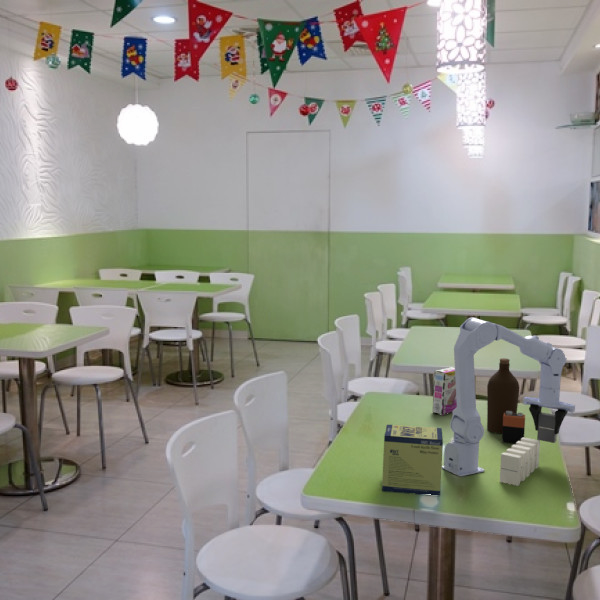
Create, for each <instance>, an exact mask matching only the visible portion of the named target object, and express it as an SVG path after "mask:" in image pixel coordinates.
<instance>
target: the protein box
mask: <svg viewBox="0 0 600 600" xmlns="http://www.w3.org/2000/svg"><path fill="white" fill-rule="evenodd" d="M383 438H384V440H383V459H382V460H383V461H382V481H381V486H382V487H381V491H382V492H389V493H398V494H399V493H400V494H409V493H415V494H414V495H420V494H431V495H440V496H441V487H442V486H441V485H442V470H443V468H442V466H443V449H444V447H443V446H444V445H443V444H444V440H443V438H444V437H443V428H442V427H430V426H415V425H401V424H400V425H399V424H386V428H385V432H384V437H383ZM431 495H430V496H431Z"/></svg>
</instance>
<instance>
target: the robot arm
mask: <svg viewBox="0 0 600 600" xmlns="http://www.w3.org/2000/svg"><path fill="white" fill-rule="evenodd" d="M500 340H503V341H504V342H507V343H509V344H511V345H514V346H517V347H518V348H519V351H520V353H521V354H522V355H525V356H526V357H528V358H531V359H533V360H535V361H537V362H538V363H540V372H539V373H540V376H539V388H538V389H539V391H538V397H529V396H525V397H523V403H522V404H523V405H525V406H527V405H529V407H528V409H529V410H528V411H529V412H530V414H531V417H532V420H533V423H534V429H535V431H537V432H538V418H539V413H540V412H542V410H543V409H542V408H547V409H552V410H553V409H554V410H555V411H554V415H555V431H554V433H555V434H557V435H558V434H559V433H560V431H561V430H560V429H561V425H562V423H563V421H564V419H565V417H566V416H567V415H568V413H575V410H576V404H572V403H568V402H564V401H561V400H560V398H561V397H560V394H561V382H562V381H561V380H562V372H563V368H564V366H565V364H566V363H567V360H568V359H567V358H566V355H565V352H564V351H563V350H562V349H561V348H557V347H554V346H552V343H550V342H546V341H545V342H544V341H543V340H541V339H540V337H539V336H537V335H533V336H532V335H527V336H522V335H521V334H519V333H517V332H515V331H513V330H511V329H510V328H507V327H505V326H504V325H501V324H497V323H493V322H491V321H488V320H487V321H486V320H483V319H479V318H477V317H473V316H472V317H469V318H467V319H466V320H465V321H464V322H463V323H461V325H460V326H459V334H458V337H457V339H456V342H455V344H454V347H453V356H454V368H455V381H456V401H457V407H456V408H455V409H454V410H453V412H452V417H451V419H450V423H449V426H450V429H451V432H453V439H452V440H451V441H450V442H448V443H447V444H445V446H444V455H443V456H444V457H443V465H442V470H445V471H448V472H450V473H452V474H454V475H456V476H457V477H465V476H469V475H473V474H479V473H483V472H485V468H482V467H480V466H479V453H480V452H479V451H480V449H479V447H480V441H481V440H482V439H483V437H484V435H485V429H484V428H485V427H484V426H483V424H482V421H481V415H480V413H479V411H478V409H477V401H476V400H477V399H476V379H475V378H476V377H475V358H474V355H475V354H476V353H477V352H478V351H480V350H481V349H483V348H485V347H487V346H488V345H490V344H492V343H493V342H495V341H496V342H497V341H500Z"/></svg>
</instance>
